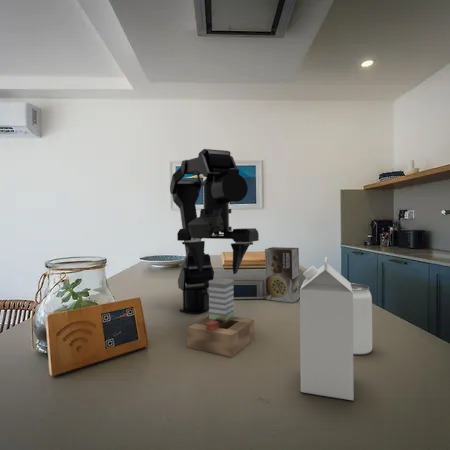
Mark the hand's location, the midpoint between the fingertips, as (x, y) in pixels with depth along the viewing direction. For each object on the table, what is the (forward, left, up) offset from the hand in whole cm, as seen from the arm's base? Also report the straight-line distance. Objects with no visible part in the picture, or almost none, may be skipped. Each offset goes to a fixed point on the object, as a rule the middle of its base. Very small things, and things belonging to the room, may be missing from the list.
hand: (217, 272), depth 72 cm
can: (+29, +2, -13) cm, 32 cm away
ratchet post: (+5, -7, -8) cm, 12 cm away
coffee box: (+5, +32, -13) cm, 35 cm away
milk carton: (+27, -14, -13) cm, 33 cm away
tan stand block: (+5, -7, -13) cm, 16 cm away
